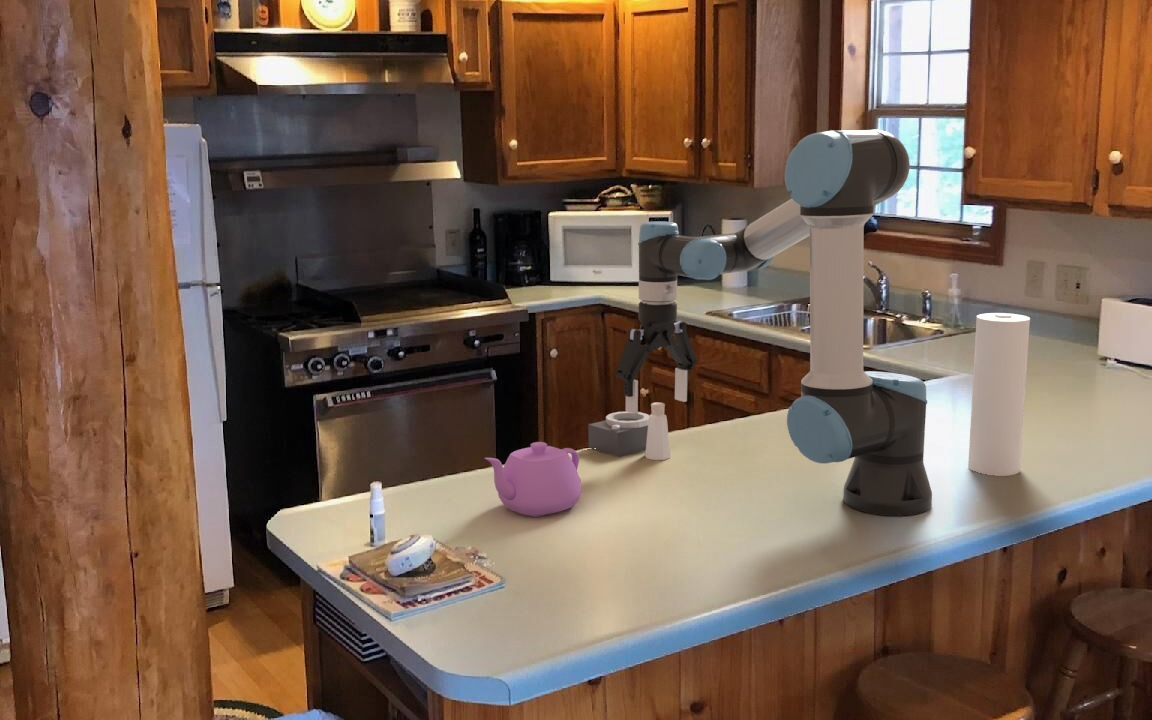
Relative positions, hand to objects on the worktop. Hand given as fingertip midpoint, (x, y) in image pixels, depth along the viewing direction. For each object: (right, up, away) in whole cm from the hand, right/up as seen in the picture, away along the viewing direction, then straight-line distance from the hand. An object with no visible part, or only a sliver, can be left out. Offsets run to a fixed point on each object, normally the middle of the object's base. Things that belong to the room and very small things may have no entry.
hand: (656, 406), depth 238 cm
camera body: (-5, -9, +10) cm, 14 cm away
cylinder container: (+64, -12, -9) cm, 66 cm away
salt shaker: (0, -10, +2) cm, 11 cm away
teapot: (-23, -17, -28) cm, 41 cm away
